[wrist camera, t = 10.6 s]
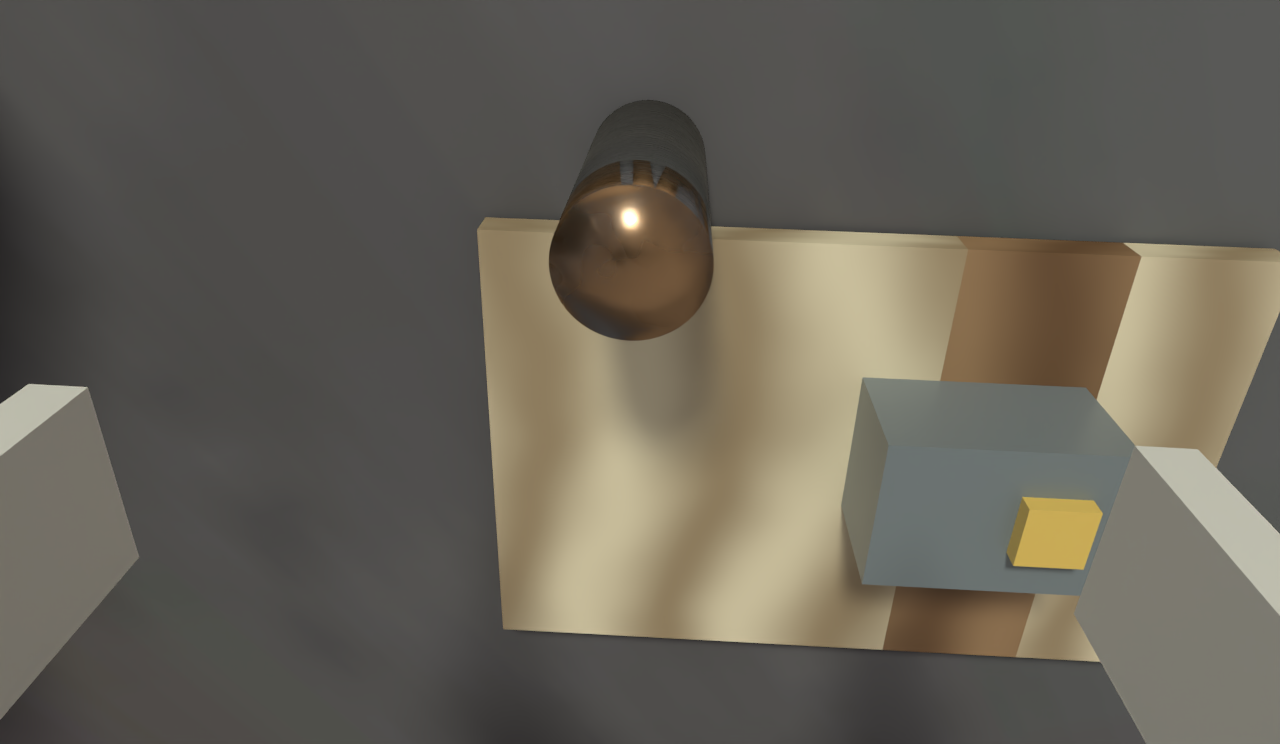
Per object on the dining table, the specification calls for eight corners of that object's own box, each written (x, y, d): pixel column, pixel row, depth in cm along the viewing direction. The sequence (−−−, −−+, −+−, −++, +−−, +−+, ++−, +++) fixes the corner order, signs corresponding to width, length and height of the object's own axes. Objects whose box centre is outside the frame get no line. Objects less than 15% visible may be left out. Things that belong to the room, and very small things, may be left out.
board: (509, 606, 34) (503, 629, 33) (485, 217, 27) (477, 229, 26) (1122, 639, 33) (1136, 663, 32) (1274, 248, 26) (1299, 262, 25)
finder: (841, 505, 30) (865, 598, 26) (862, 377, 27) (893, 457, 23) (1046, 515, 29) (1104, 610, 25) (1085, 387, 27) (1156, 470, 23)
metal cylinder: (591, 211, 26) (550, 337, 19) (591, 98, 25) (546, 181, 17) (701, 216, 26) (708, 344, 18) (708, 101, 25) (719, 188, 17)
